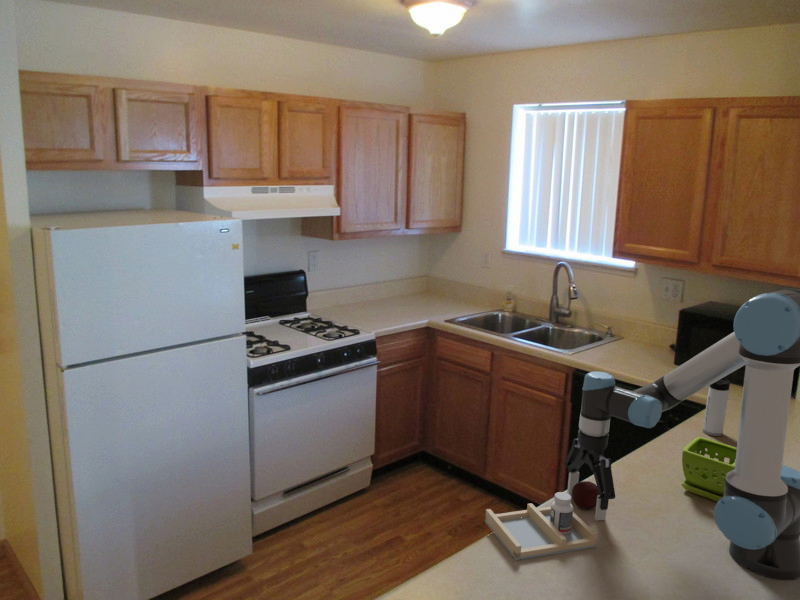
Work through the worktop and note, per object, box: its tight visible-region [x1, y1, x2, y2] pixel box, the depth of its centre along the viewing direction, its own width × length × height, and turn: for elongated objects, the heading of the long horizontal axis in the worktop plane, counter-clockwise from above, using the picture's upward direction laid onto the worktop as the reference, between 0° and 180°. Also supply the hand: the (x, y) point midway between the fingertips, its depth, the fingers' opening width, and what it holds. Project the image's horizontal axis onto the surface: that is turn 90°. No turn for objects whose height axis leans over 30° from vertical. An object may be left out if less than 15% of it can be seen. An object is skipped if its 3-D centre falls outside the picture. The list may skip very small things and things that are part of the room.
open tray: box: [484, 503, 598, 561], centre depth 154 cm, size 16×21×4 cm
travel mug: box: [702, 377, 731, 437], centre depth 219 cm, size 6×7×20 cm
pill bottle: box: [550, 491, 574, 534], centre depth 155 cm, size 5×5×9 cm
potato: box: [571, 480, 600, 511], centre depth 167 cm, size 7×8×7 cm
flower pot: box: [681, 436, 737, 503], centre depth 177 cm, size 14×14×13 cm
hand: (585, 506), depth 168 cm, fingers open, 12 cm apart
